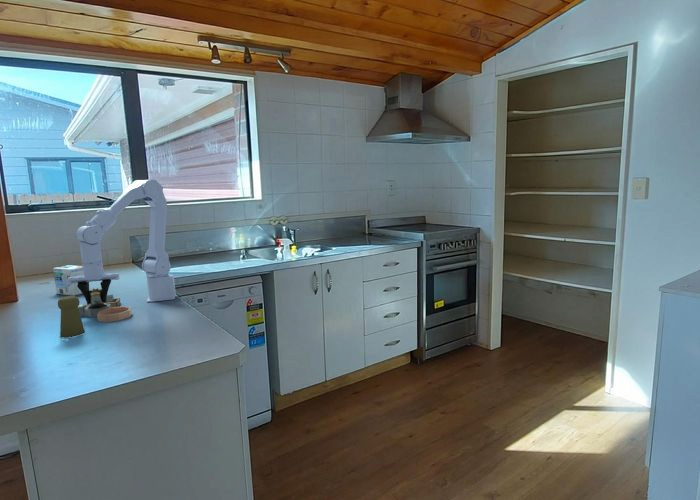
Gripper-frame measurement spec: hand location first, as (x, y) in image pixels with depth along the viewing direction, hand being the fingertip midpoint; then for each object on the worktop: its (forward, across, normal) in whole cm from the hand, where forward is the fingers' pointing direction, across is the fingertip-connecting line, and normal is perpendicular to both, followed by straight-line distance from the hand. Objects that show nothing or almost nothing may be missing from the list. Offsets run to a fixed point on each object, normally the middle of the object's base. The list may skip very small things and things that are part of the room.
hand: (97, 302), depth 141 cm
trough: (+4, 0, +9) cm, 9 cm away
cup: (+4, +6, -7) cm, 10 cm away
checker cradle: (+4, 0, 0) cm, 4 cm away
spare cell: (+4, 0, +9) cm, 9 cm away
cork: (+4, -3, -20) cm, 21 cm away
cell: (+2, 0, 0) cm, 2 cm away
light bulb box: (+4, -16, +39) cm, 42 cm away
